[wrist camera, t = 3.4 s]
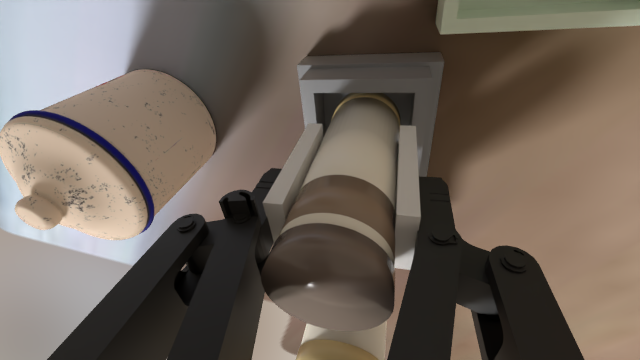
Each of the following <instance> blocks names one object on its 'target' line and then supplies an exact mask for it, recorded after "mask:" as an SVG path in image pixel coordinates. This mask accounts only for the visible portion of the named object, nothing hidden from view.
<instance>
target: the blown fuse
mask: <svg viewBox="0 0 640 360" xmlns="http://www.w3.org/2000/svg"><path fill="white" fill-rule="evenodd" d="M399 132H400V113H399V110H398V108H397V106H396V105H395V103H394V102H393V101H392V100H391V99H390V98H389V97H388V96H386V95H385V94H383V93H350V94H349V95H347V96H346V97H344V98H343V99H342V100H341V101H340V103H339V104H338V106H337V107H336V110H335V112H334V114H333V116H332V119H331V123H330V125H329V127H328V129H327V131H326V134H325V136H324V138H323V140H322V143H321V145H320V147H319V149H318V151H317V154H316V156H315V158H314V160H313V162H312V165H311V167H310V169H309V171H308V174H307V176H306V178H305V180H304V182H303V185H302V187H301V189H300V191H299V193H298V194H297V197H296V199H295V201H294V203H293V205H292V208H291V210H290V212H289V214H288V216H287V219H286V221H285V223H284V225H283V227H282V230H281V232H280V234H279V237H278V238H277V239H276V241H275V243H274V245H273V247H272V249H271V252H270V254H269V256H268V258H267V260H266V262H265V265H264V267H263V269H262V272H261V282H262V286H263V288H264V290H265V292H266V294H267V295H268V296H269V298H270V299H271V300H272V301H273V302H274V303H275V304H276V305H277V306H278V307H280V308H281V309H282V310H283V311H285V312H286V313H288V314H289V315H291V316H293V317H295V318H297V319H299V320H301V321H303V322H305V323H308V324H311V325H313V326H317V327H320V328H324V329H329V330H335V331H362V330H367V329H371V328H374V327H377V326H379V325H381V324H382V323H384V322H385V321H386V320H387V319H388V318H389V317H390V316H391V314H392V312H393V309H394V293H395V269H394V264H395V218H396V192H397V168H398V145H399Z"/></svg>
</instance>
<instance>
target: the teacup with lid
mask: <svg viewBox="0 0 640 360" xmlns="http://www.w3.org/2000/svg"><path fill="white" fill-rule="evenodd" d="M215 145H216V132H215V127H214V123H213V121H212V118H211V116H210V114H209V112H208V110H207V108H206V107H205V105H204V104H203V102H202V101H201V100H200V99H199V97H198V96H197V95H196V94H195V93H194V92H193V91H192V90H191V89H190V88H189V87H187V86H186V85H185V84H183V83H182V82H181V81H179V80H178V79H176V78H174V77H172V76H170V75H168V74H166V73H163V72H160V71H156V70H149V69H140V70H135V71H132V72H129V73H127V74H125V75H122V76H120V77H117V78H115V79H113V80H110V81H108V82H106V83H103V84H101V85H99V86H96V87H94V88H92V89H89V90H87V91H84V92H82V93H80V94H77V95H75V96H73V97H70V98H68V99H66V100H63V101H61V102H58V103H56V104H54V105H51V106H49V107H47V108H44V109H42V110H40V111H38V110H35V111H25V112H22V113H19V114H17V115H15V116H14V117H12V118H11V119H10V120H9V122H7V123H6V124H5V125H4V127H3V129H2V130H1V132H0V155H1V158H2V160H3V163H4V165H5V167H6V168H7V170H8V172H9V173H10V175H11V176H12V178H13V179H14V180H15V182H16V183H17V185H18V187H19V190H20V192H21V193H22V195H23V196H24V198H23V199H21V200H19V201H18V202H17V203H16V206H15V212H16V214H17V215H18V216H19V218H20V219H21V220H23V221H24V222H25V223H27V224H28V225H30V226H32V227H34V228H36V229H40V230H47V229H51V228H53V227H55V226H56V225H57V224H60V225H63V226H66V227H69V228H73V229H76V230H78V231H81V232H83V233H86V234H88V235H91V236H94V237H98V238H102V239H108V240H124V239H128V238H131V237H134V236H136V235H138V234H140V233H142V232H144V231H145V230H147V229H148V228H149V226H150V225H151V223H152V221H153V219H154V216H155V215H156V214H157V213H158V212H159V211H160V210H161V209H162V207H163V206H164V205H165V204H166V203H167V202H168V201H169V200H170V199H171V198H172V197H173V196H174V195H175V194H176V193H177V192H178V191H179V190H180V189H181V188H182V187H183V186H184V185H185V184H186V183H187V182H188V181H189V180H190V179H191V177H192V176H193V175H194V174H195V173H196V172H197V171H198V170H199V169H200V168H201V167H202V166H203V165H204V164H205V163H206V162H207V161H208V160H209V159H210V157H211V156H212V154H213V152H214V149H215Z"/></svg>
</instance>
